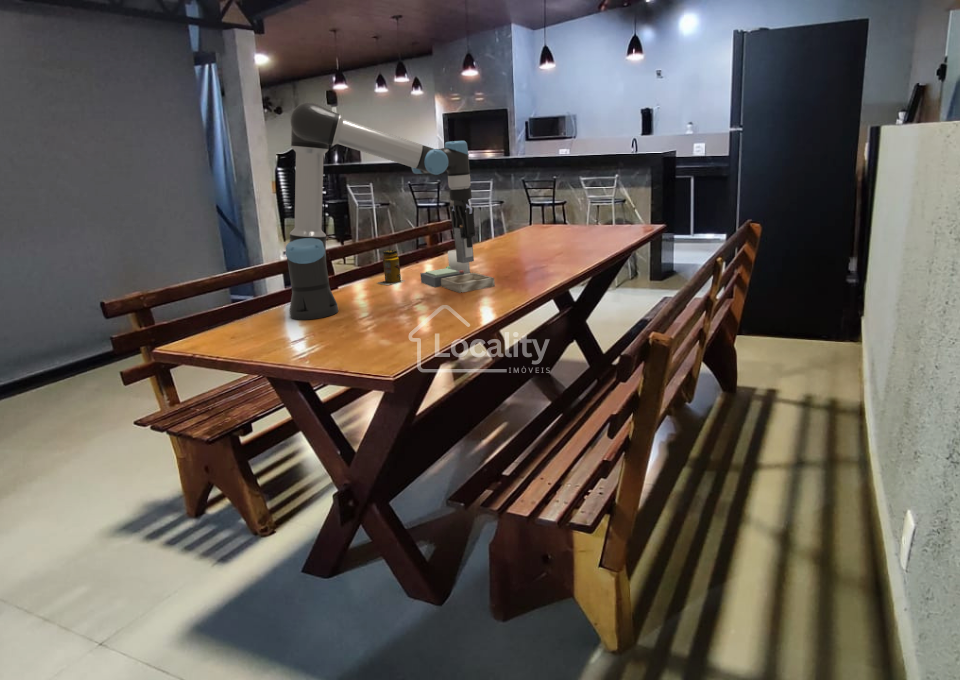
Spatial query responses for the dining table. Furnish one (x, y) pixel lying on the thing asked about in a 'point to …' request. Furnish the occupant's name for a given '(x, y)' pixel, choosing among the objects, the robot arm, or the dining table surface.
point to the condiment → (391, 268)
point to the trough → (467, 282)
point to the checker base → (437, 278)
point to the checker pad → (441, 272)
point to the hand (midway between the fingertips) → (465, 255)
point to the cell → (461, 245)
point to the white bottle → (457, 263)
